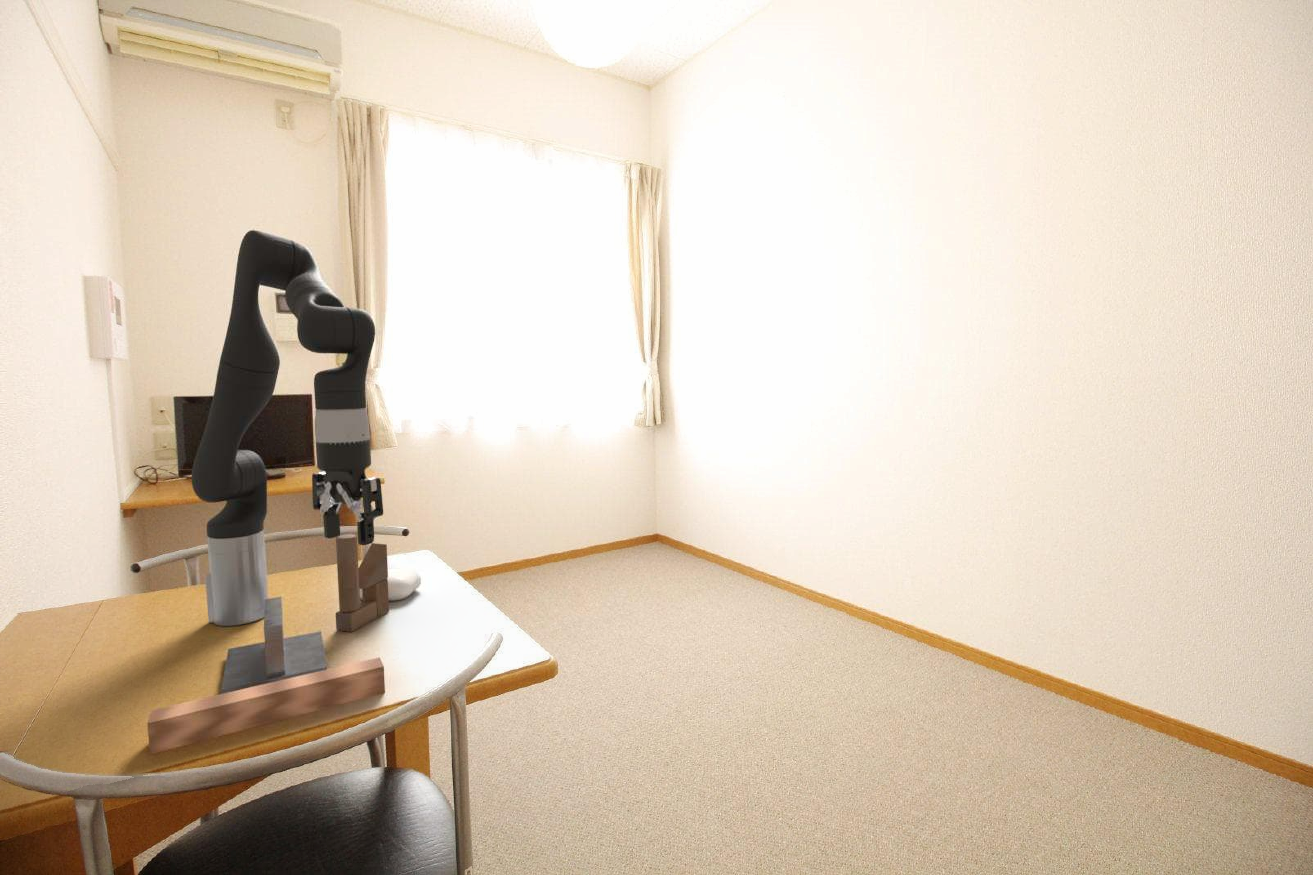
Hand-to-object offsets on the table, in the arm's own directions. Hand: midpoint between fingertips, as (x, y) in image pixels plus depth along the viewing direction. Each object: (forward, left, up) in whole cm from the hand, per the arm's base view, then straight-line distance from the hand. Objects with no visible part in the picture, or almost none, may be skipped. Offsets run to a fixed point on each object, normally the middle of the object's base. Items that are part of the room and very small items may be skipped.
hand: (349, 540), depth 97 cm
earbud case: (-13, +36, -23) cm, 44 cm away
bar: (-5, -11, -23) cm, 26 cm away
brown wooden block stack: (-11, +22, -23) cm, 33 cm away
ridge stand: (-15, +2, -22) cm, 27 cm away
